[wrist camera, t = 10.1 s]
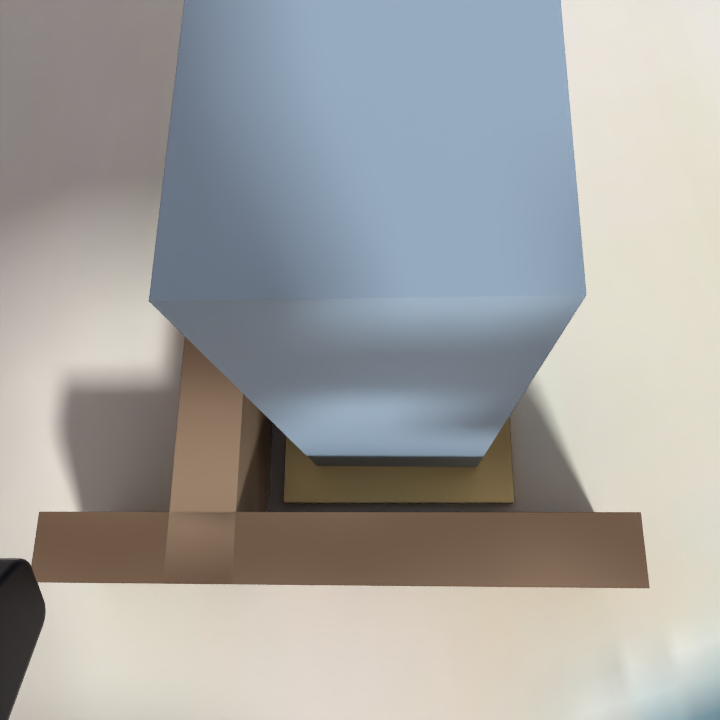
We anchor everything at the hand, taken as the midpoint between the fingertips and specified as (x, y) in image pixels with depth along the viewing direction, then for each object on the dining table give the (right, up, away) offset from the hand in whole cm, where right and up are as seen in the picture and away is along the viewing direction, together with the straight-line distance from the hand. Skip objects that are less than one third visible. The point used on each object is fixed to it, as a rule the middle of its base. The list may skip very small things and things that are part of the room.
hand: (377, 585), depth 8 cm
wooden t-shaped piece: (-1, +2, +12) cm, 12 cm away
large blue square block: (+1, +2, +11) cm, 11 cm away
